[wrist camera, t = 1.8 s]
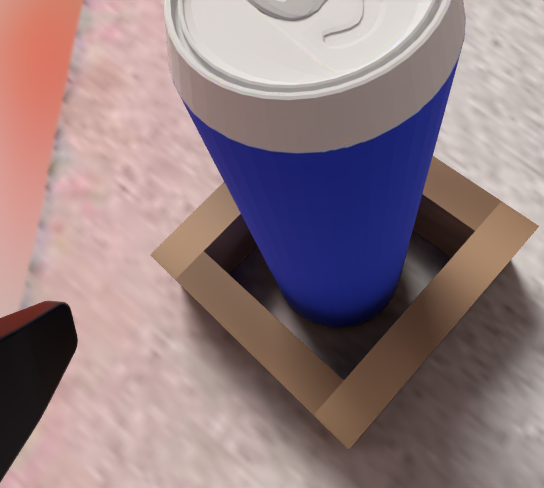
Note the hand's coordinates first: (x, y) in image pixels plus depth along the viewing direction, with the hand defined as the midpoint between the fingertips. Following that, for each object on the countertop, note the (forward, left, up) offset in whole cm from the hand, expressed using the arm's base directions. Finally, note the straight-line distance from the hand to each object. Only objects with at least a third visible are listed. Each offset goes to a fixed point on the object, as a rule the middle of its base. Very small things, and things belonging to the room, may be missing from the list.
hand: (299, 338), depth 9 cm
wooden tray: (+4, +3, -12) cm, 13 cm away
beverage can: (+4, +3, -12) cm, 13 cm away
